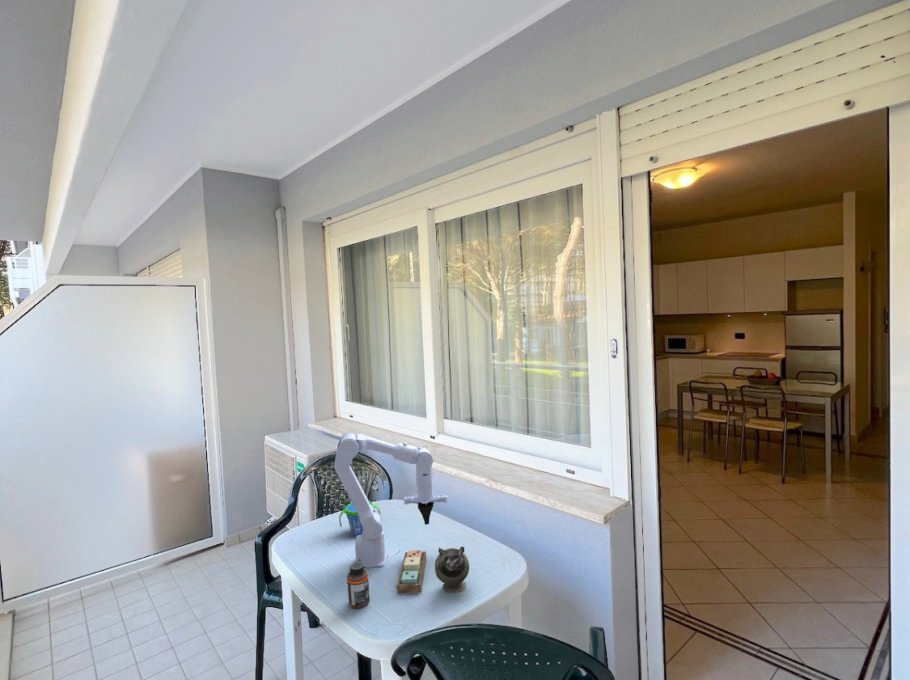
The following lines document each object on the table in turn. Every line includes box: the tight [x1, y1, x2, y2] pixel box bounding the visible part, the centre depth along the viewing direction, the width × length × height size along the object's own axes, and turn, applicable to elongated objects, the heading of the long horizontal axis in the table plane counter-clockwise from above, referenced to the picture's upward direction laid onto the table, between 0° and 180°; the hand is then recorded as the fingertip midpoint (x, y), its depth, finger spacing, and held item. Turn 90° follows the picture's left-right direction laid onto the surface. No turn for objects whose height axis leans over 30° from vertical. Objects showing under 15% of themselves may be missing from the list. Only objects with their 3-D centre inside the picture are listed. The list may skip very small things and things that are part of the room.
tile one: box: [404, 557, 421, 572], centre depth 149 cm, size 5×5×3 cm
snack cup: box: [338, 500, 382, 537], centre depth 181 cm, size 16×11×10 cm
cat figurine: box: [434, 546, 470, 594], centre depth 141 cm, size 10×12×10 cm
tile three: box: [407, 549, 423, 561], centre depth 156 cm, size 5×5×3 cm
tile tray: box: [396, 551, 427, 595], centre depth 149 cm, size 7×19×2 cm, turn 179°
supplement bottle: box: [346, 561, 371, 609], centre depth 136 cm, size 6×6×11 cm
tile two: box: [401, 571, 419, 584], centre depth 143 cm, size 5×5×3 cm
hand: (427, 523), depth 162 cm, fingers closed
